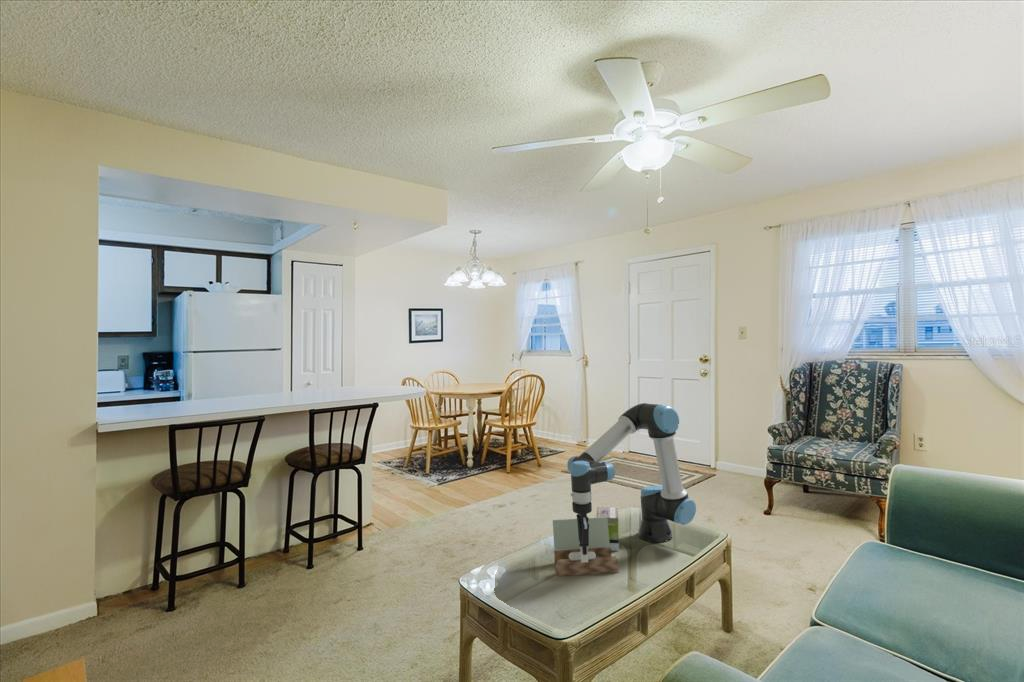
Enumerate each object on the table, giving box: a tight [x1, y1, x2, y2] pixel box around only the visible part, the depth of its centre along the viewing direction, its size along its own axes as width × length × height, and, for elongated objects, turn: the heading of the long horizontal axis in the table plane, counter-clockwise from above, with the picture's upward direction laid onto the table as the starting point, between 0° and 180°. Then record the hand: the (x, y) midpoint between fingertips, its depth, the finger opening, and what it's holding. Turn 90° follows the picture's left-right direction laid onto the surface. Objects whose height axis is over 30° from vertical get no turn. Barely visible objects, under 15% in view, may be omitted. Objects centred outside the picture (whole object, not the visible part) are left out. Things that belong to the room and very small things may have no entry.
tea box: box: [595, 506, 620, 552], centre depth 219 cm, size 15×10×15 cm
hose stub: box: [569, 551, 596, 561], centre depth 192 cm, size 11×3×3 cm, turn 93°
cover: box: [552, 517, 610, 551], centre depth 204 cm, size 24×12×1 cm
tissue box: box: [553, 547, 619, 577], centre depth 196 cm, size 24×12×5 cm, turn 93°
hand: (584, 561), depth 188 cm, fingers closed
